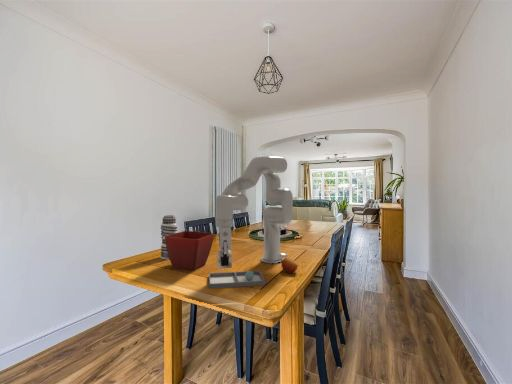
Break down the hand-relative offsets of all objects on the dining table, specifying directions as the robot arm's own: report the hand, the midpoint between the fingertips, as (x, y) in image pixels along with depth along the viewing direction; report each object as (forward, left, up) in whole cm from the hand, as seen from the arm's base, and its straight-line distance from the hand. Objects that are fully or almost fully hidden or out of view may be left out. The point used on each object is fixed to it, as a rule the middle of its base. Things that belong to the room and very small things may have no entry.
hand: (224, 262), depth 103 cm
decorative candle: (+31, -42, -9) cm, 53 cm away
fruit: (-33, -8, -9) cm, 35 cm away
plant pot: (+17, -24, -9) cm, 31 cm away
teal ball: (-11, 0, -8) cm, 14 cm away
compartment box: (-5, 0, -8) cm, 10 cm away
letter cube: (0, 0, -1) cm, 1 cm away
